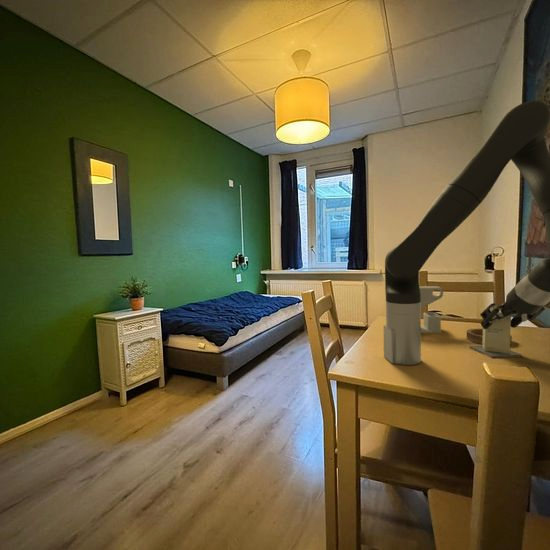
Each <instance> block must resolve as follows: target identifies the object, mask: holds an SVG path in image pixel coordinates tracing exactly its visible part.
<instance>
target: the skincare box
mask: <svg viewBox="0 0 550 550" xmlns="http://www.w3.org/2000/svg"><path fill="white" fill-rule="evenodd" d="M485 309H486V308H484V309H483V311H484V310H485ZM483 311H482V312H483ZM498 313H499V315H500V316H501V317H502V316H503V314H502V313H501V310H500V311H499V312H498ZM494 318H496V315H495V316H494V317H493V319H494ZM511 319H512V317H510V318H507V319H505V320H502V321H500V320H498V321H496V322H493V324H492V325H491V326H490V327H489V328H488V329H483V328H482V329H483V341H482V344H481V346H482V347H483V349H484V350H485V351H492V352H500V353H510V350H511V344H510V335H511V330H512V329H511V328H512V327H511Z"/></svg>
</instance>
